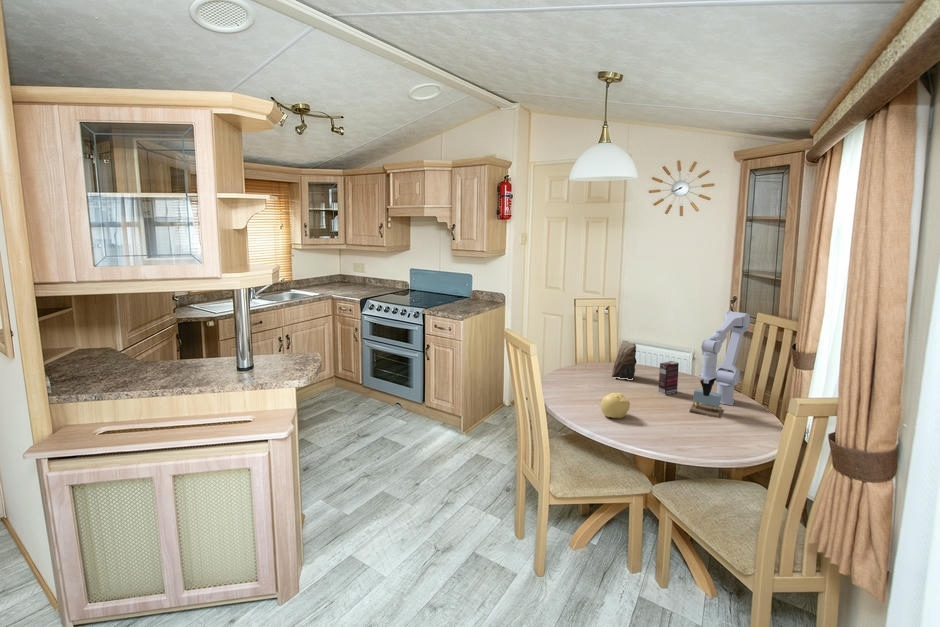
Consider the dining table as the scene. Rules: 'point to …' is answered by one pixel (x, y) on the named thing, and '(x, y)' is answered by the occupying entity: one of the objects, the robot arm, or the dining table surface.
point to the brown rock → (625, 361)
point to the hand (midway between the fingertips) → (706, 394)
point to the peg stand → (705, 409)
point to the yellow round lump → (615, 405)
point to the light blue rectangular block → (707, 398)
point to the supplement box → (668, 377)
